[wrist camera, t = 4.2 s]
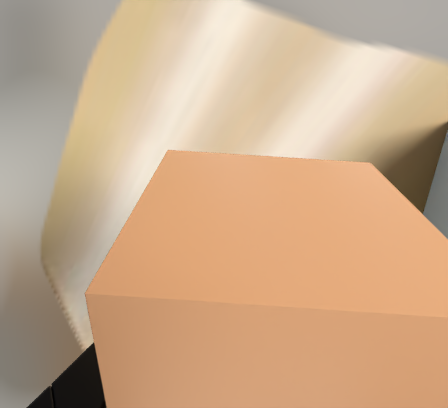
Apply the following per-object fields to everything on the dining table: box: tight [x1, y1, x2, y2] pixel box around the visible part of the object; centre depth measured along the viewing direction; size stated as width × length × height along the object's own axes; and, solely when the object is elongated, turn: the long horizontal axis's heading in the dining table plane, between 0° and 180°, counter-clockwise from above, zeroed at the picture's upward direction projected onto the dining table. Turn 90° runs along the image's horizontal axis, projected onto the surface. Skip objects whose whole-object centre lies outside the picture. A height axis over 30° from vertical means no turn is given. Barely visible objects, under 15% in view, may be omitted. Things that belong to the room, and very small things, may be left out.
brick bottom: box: [85, 150, 448, 408], centre depth 8 cm, size 5×8×5 cm, turn 177°
